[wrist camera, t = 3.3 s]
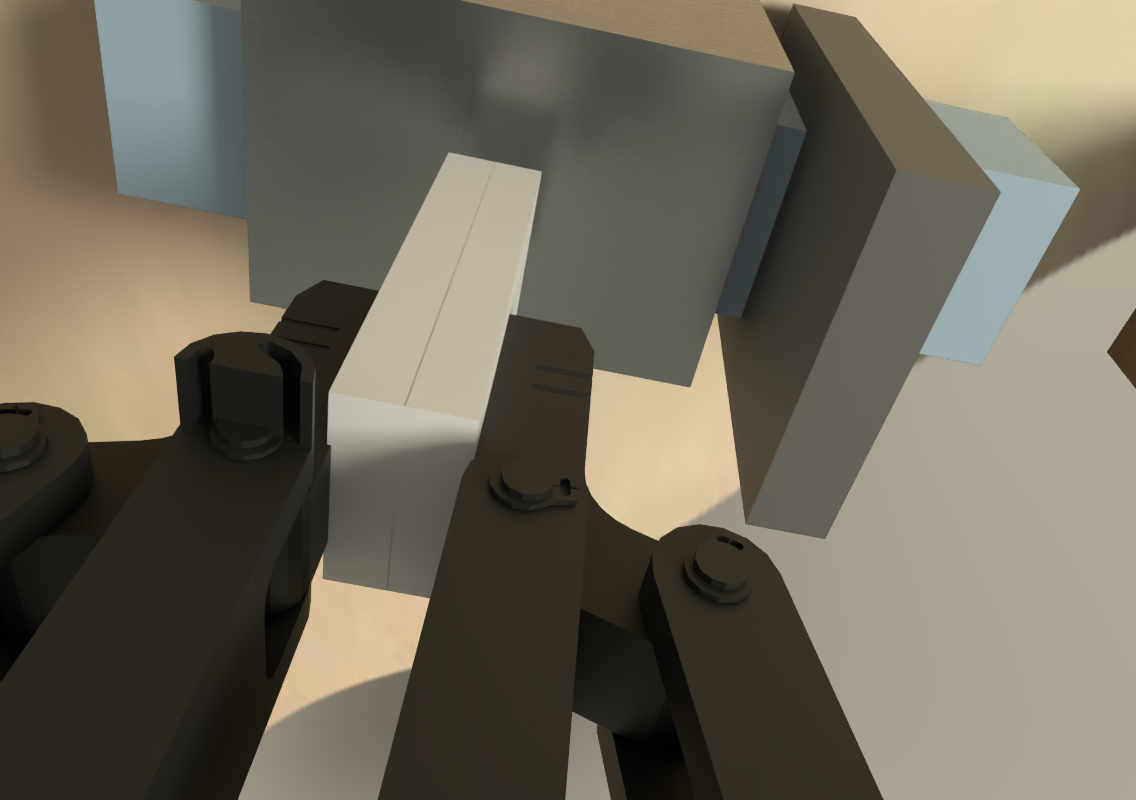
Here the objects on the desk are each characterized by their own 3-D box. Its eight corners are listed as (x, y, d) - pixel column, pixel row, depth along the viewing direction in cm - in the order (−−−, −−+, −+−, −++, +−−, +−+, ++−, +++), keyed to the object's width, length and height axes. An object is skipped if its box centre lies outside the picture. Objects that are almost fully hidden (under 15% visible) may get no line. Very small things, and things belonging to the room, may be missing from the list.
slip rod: (213, 163, 22) (-19, 381, 14) (197, -128, 18) (-128, -46, 11) (904, 303, 23) (1036, 578, 15) (1023, 54, 19) (1278, 250, 12)
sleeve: (337, 181, 23) (250, 301, 18) (346, -99, 19) (239, -48, 14) (679, 251, 23) (690, 387, 18) (755, -9, 19) (794, 72, 14)
